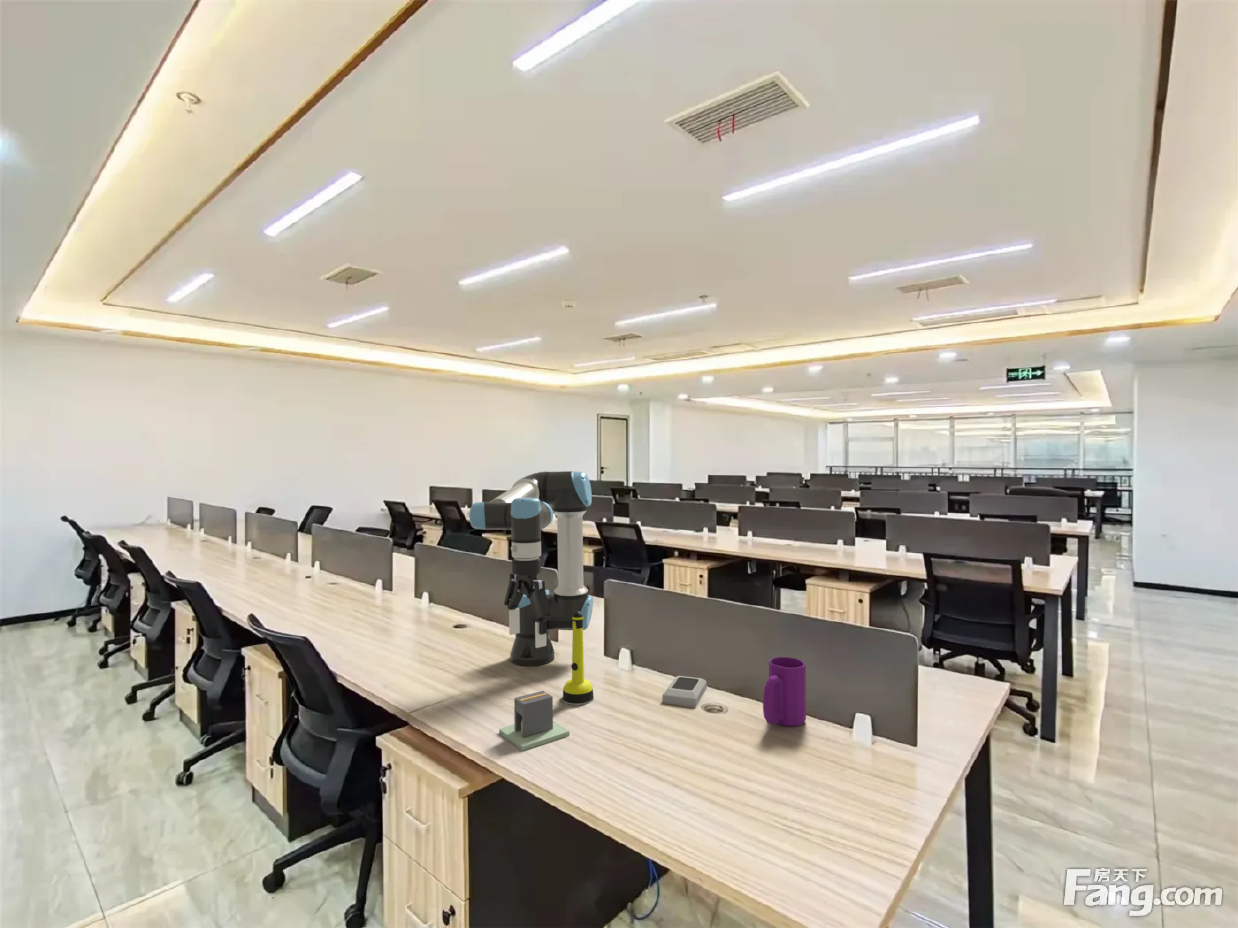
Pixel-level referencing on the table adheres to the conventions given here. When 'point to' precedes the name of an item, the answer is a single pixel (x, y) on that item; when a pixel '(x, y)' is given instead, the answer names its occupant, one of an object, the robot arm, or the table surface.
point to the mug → (785, 692)
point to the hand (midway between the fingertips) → (527, 640)
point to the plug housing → (533, 713)
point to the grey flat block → (685, 691)
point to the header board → (533, 736)
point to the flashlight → (577, 669)
